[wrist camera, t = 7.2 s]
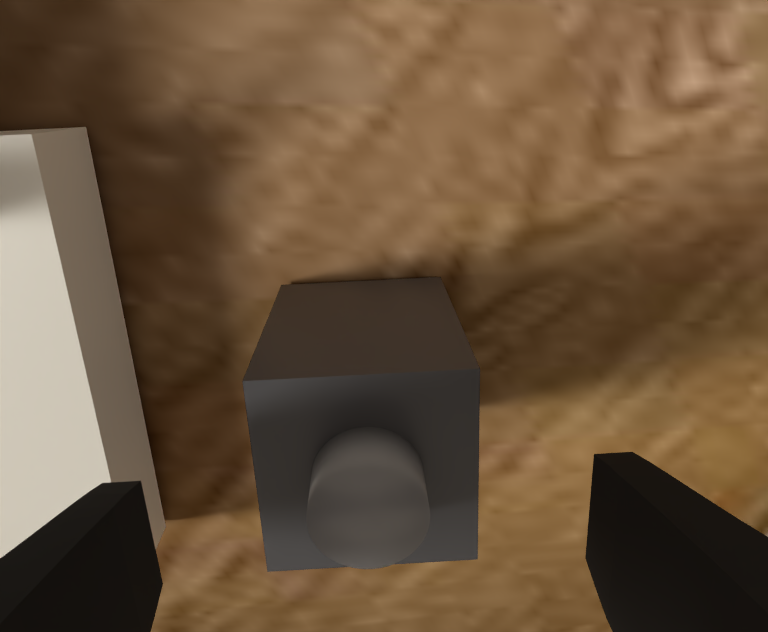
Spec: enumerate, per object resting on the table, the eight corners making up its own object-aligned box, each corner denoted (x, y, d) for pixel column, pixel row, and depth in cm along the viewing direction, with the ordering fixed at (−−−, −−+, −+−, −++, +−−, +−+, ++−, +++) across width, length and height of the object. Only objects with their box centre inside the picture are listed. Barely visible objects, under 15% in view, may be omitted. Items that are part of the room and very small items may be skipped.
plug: (442, 417, 17) (489, 608, 11) (295, 425, 17) (258, 622, 11) (440, 277, 16) (494, 402, 9) (281, 284, 16) (228, 416, 9)
